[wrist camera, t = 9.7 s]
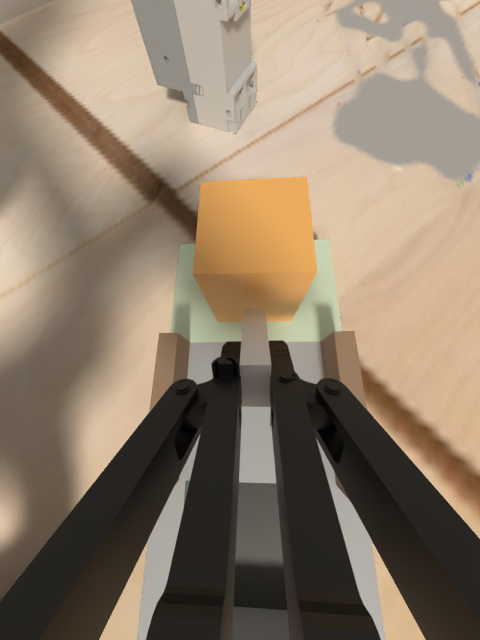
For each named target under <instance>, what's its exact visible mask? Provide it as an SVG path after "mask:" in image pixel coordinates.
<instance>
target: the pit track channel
mask: <svg viewBox="0 0 480 640" xmlns="http://www.w3.org/2000/svg"><path fill="white" fill-rule="evenodd" d="M314 245H315V254H316V263H317V273H316V275H315V277H314V279H313V281H312V283H311V285H310V287H309V289H308V291H307V293H306V295H305V296H304V298H303V300H302V302H301V304H300V306H299V308H298V310H297V312H296V314H295V316H294V318H293V319H292V321H266V325H267V333H268V341H270V340H283V341H284V342H285V343H286V344H287V345H288V348H289V352H290V356H291V359H292V363H293V367H294V371H295V372H296V373H297V374H298V376H299V378H301V379H302V380H304V381H307V382H310V383H314V384H317V383H318V382H319V380H321V379H324V378H332V379H336V380H338V381H340V382H342V383H343V384H344V385H345V386H346V387H347V388H348V389H349V390H350V391H351V392H352V393H353V395H354V396H355V397H356V398H357V399H358V400H359V401H360V403H361V404H362V405H363V406H364V407H365V408H366V402H365V395H364V389H363V383H362V376H361V370H360V364H359V358H358V351H357V345H356V339H355V332H354V331H342V328H341V321H340V314H339V307H338V300H337V293H336V286H335V278H334V271H333V264H332V257H331V250H330V243H329V239H318V240H314ZM194 256H195V244H180V248H179V257H178V267H177V276H176V285H175V294H174V303H173V313H172V322H171V331H170V333H159V339H158V347H157V356H156V364H155V372H154V380H153V388H152V396H151V404H150V411H151V410H152V408H153V407H154V406H155V405H156V403H157V402H158V401H159V400H160V398H161V397H162V396H163V395H164V393H165V392H166V391H167V389H168V388H169V387H170V386H171V385H172V384H173V383H174V382H176V381H178V380H181V379H191V380H194V381H195V382H196V384H200V383H204V382H207V381H209V380H211V379H212V378H213V374H212V366H211V364H212V362H213V361H214V360H215V359H216V358H218V357H221V351H222V346H223V345H224V344H225V343H226V342H227V341H241V339H242V326H243V322H217V320H216V318H215V316H214V314H213V312H212V310H211V308H210V306H209V304H208V302H207V301H206V299H205V297H204V295H203V293H202V291H201V289H200V287H199V285H198V283H197V281H196V279H195V278H194V276H193V267H194ZM241 409H242V423H241V446H240V468H239V491H238V513H237V536H236V558H235V581H234V603H233V640H289V624H288V612H287V601H286V589H285V578H284V566H283V555H282V543H281V532H280V520H279V508H278V497H277V485H276V474H275V462H274V451H273V439H272V428H271V426H270V414H271V406H270V407H242V408H241ZM366 409H367V408H366ZM199 438H200V435H199V437H198V439H197V441H196V443H195V445H194V447H193V449H192V451H191V454H190V456H189V458H188V460H187V462H186V464H185V466H184V468H183V470H182V472H181V474H180V476H179V478H178V480H177V482H176V484H175V486H174V488H173V490H172V492H171V494H170V496H169V498H168V500H167V502H166V504H165V506H164V508H163V510H162V512H161V514H160V516H159V518H158V521H157V523H156V525H155V527H154V529H153V531H152V533H151V535H150V537H149V539H148V543H147V552H146V561H145V571H144V580H143V589H142V598H141V607H140V617H139V626H138V635H137V640H146V637H147V633H148V629H149V626H150V622H151V618H152V615H153V612H154V610H155V607H156V604H157V602H158V601H159V599H160V597H161V596H162V594H163V592H164V590H165V587H166V583H167V580H168V576H169V571H170V567H171V562H172V558H173V553H174V549H175V544H176V540H177V536H178V531H179V527H180V522H181V518H182V513H183V509H184V504H185V500H186V495H187V491H188V487H189V482H190V478H191V473H192V469H193V464H194V460H195V455H196V451H197V446H198V442H199ZM316 439H317V438H316ZM317 443H318V447H319V450H320V454H321V457H322V461H323V465H324V468H325V472H326V475H327V479H328V483H329V486H330V490H331V493H332V497H333V501H334V504H335V508H336V512H337V515H338V519H339V522H340V526H341V530H342V533H343V537H344V540H345V544H346V548H347V551H348V555H349V559H350V562H351V566H352V569H353V573H354V577H355V580H356V584H357V587H358V591H359V594H360V597H361V599H362V602H363V604H364V606H365V607H366V609H367V610H368V612H369V613H370V615H371V616H372V618H373V621H374V623H375V625H376V628H377V630H378V633H379V636H380V639H381V640H385V633H384V626H383V619H382V612H381V605H380V598H379V591H378V584H377V576H376V569H375V562H374V555H373V548H372V541H371V538H370V536H369V534H368V532H367V530H366V529H365V527H364V525H363V523H362V521H361V519H360V518H359V516H358V514H357V512H356V510H355V508H354V507H353V505H352V503H351V501H350V499H349V497H348V496H347V494H346V492H345V490H344V488H343V486H342V484H341V483H340V481H339V479H338V477H337V475H336V473H335V472H334V470H333V468H332V466H331V464H330V462H329V461H328V459H327V457H326V455H325V453H324V451H323V450H322V448H321V446H320V444H319V442H318V440H317Z"/></svg>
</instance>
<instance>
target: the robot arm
mask: <svg viewBox="0 0 480 640" xmlns="http://www.w3.org/2000/svg"><path fill="white" fill-rule="evenodd" d="M211 366H212V374H213V378H212V379H211V380H209V381H207V382H204V383H200V384H196V382H195V381H194V380H191V379H181V380H178V381H176V382H174V383H173V384H172V385H171V386H170V387H169V388H168V389H167V391H166V392H165V393H164V395H163V396H162V397H161V398H160V400H159V401H158V402H157V403H156V405H155V406H154V407H153V408H152V410H151V411H150V412H149V414H148V415H147V416H146V417H145V419H144V420H143V421H142V422H141V424H140V425H139V426H138V428H137V429H136V430H135V431H134V433H133V434H132V435H131V436H130V438H129V439H128V440H127V441H126V443H125V444H124V445H123V447H122V448H121V449H120V450H119V452H118V453H117V454H116V455H115V457H114V458H113V459H112V460H111V462H110V463H109V464H108V466H107V467H106V468H105V469H104V471H103V472H102V473H101V474H100V476H99V477H98V478H97V480H96V481H95V482H94V483H93V485H92V486H91V487H90V488H89V490H88V491H87V492H86V493H85V495H84V496H83V497H82V499H81V500H80V501H79V502H78V504H77V505H76V506H75V507H74V509H73V510H72V511H71V512H70V514H69V515H68V516H67V518H66V519H65V520H64V521H63V523H62V524H61V525H60V526H59V528H58V529H57V530H56V532H55V533H54V534H53V535H52V537H51V538H50V539H49V540H48V542H47V543H46V544H45V545H44V547H43V548H42V549H41V551H40V552H39V553H38V554H37V556H36V557H35V558H34V559H33V561H32V562H31V563H30V564H29V566H28V567H27V568H26V570H25V571H24V572H23V573H22V575H21V576H20V577H19V578H18V580H17V581H16V582H15V584H14V585H13V586H12V587H11V589H10V590H9V591H8V592H7V594H6V595H5V596H4V597H3V599H2V600H1V601H0V640H99V638H100V636H101V634H102V632H103V630H104V628H105V626H106V624H107V622H108V620H109V618H110V616H111V614H112V612H113V610H114V608H115V606H116V604H117V602H118V600H119V598H120V596H121V594H122V592H123V590H124V588H125V585H126V583H127V581H128V579H129V577H130V575H131V573H132V571H133V569H134V567H135V565H136V563H137V561H138V559H139V557H140V555H141V553H142V551H143V549H144V547H145V545H146V543H147V541H148V539H149V537H150V535H151V533H152V531H153V529H154V527H155V525H156V523H157V521H158V518H159V516H160V514H161V512H162V510H163V508H164V506H165V504H166V502H167V500H168V498H169V496H170V494H171V492H172V490H173V488H174V486H175V484H176V482H177V480H178V478H179V476H180V474H181V472H182V470H183V468H184V466H185V464H186V462H187V460H188V458H189V456H190V454H191V451H192V449H193V447H194V445H195V443H196V441H197V439H198V437H199V435H200V438H199V442H198V446H197V451H196V455H195V460H194V464H193V469H192V473H191V478H190V482H189V487H188V491H187V495H186V500H185V504H184V509H183V513H182V518H181V522H180V527H179V531H178V536H177V540H176V544H175V549H174V553H173V558H172V562H171V567H170V571H169V576H168V580H167V583H166V587H165V590H164V592H163V594H162V596H161V597H160V599H159V601H158V602H157V604H156V607H155V610H154V612H153V615H152V618H151V622H150V626H149V629H148V633H147V637H146V640H233V603H234V581H235V558H236V536H237V513H238V491H239V468H240V446H241V423H242V409H241V408H242V407H270V406H271V414H270V426H271V428H272V439H273V451H274V462H275V474H276V485H277V497H278V508H279V520H280V532H281V543H282V555H283V566H284V578H285V589H286V601H287V612H288V624H289V640H381V639H380V636H379V633H378V630H377V628H376V625H375V623H374V621H373V618H372V616H371V615H370V613H369V612H368V610H367V609H366V607H365V606H364V604H363V602H362V599H361V597H360V594H359V591H358V587H357V584H356V580H355V577H354V573H353V569H352V566H351V562H350V559H349V555H348V551H347V548H346V544H345V540H344V537H343V533H342V530H341V526H340V522H339V519H338V515H337V512H336V508H335V504H334V501H333V497H332V493H331V490H330V486H329V483H328V479H327V475H326V472H325V468H324V465H323V461H322V457H321V454H320V450H319V447H318V443H317V440H318V442H319V444H320V446H321V448H322V450H323V451H324V453H325V455H326V457H327V459H328V461H329V462H330V464H331V466H332V468H333V470H334V472H335V473H336V475H337V477H338V479H339V481H340V483H341V484H342V486H343V488H344V490H345V492H346V494H347V496H348V497H349V499H350V501H351V503H352V505H353V507H354V508H355V510H356V512H357V514H358V516H359V518H360V519H361V521H362V523H363V525H364V527H365V529H366V530H367V532H368V534H369V536H370V538H371V540H372V542H373V543H374V545H375V547H376V549H377V551H378V553H379V554H380V556H381V558H382V560H383V562H384V564H385V565H386V567H387V569H388V571H389V573H390V575H391V576H392V578H393V580H394V582H395V584H396V586H397V588H398V589H399V591H400V593H401V595H402V597H403V599H404V600H405V602H406V604H407V606H408V608H409V610H410V611H411V613H412V615H413V617H414V619H415V621H416V622H417V624H418V626H419V628H420V630H421V632H422V633H423V635H424V637H425V639H426V640H480V539H479V538H478V536H477V535H476V534H475V533H474V532H473V531H472V530H471V528H470V527H469V526H468V525H467V524H466V523H465V522H464V520H463V519H462V518H461V517H460V516H459V515H458V514H457V512H456V511H455V510H454V509H453V508H452V507H451V506H450V504H449V503H448V502H447V501H446V500H445V499H444V498H443V496H442V495H441V494H440V493H439V492H438V491H437V489H436V488H435V487H434V486H433V485H432V484H431V483H430V481H429V480H428V479H427V478H426V477H425V476H424V475H423V473H422V472H421V471H420V470H419V469H418V468H417V467H416V465H415V464H414V463H413V462H412V461H411V460H410V459H409V457H408V456H407V455H406V454H405V453H404V452H403V451H402V449H401V448H400V447H399V446H398V445H397V444H396V443H395V441H394V440H393V439H392V438H391V437H390V436H389V435H388V433H387V432H386V431H385V430H384V429H383V428H382V427H381V425H380V424H379V423H378V422H377V421H376V420H375V419H374V417H373V416H372V415H371V414H370V413H369V412H368V411H367V409H366V408H365V407H364V406H363V405H362V404H361V403H360V401H359V400H358V399H357V398H356V397H355V396H354V395H353V393H352V392H351V391H350V390H349V389H348V388H347V387H346V386H345V385H344V384H343V383H342V382H340V381H338V380H336V379H332V378H324V379H321V380H319V382H318V383H317V384H314V383H310V382H307V381H304V380H302V379H301V378H299V376H298V374H297V373H296V372H295V371H294V367H293V363H292V359H291V356H290V352H289V348H288V345H287V344H286V343H285V342H284V341H283V340H270V341H268V333H267V325H266V318H265V310H264V308H250V309H244V314H243V326H242V339H241V341H227V342H226V343H225V344H224V345H223V346H222V351H221V357H218V358H216V359H215V360H214V361H213V362H212V364H211ZM316 438H317V439H316Z"/></svg>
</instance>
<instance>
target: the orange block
mask: <svg viewBox="0 0 480 640" xmlns="http://www.w3.org/2000/svg"><path fill="white" fill-rule="evenodd" d="M316 273H317V263H316V254H315V245H314V236H313V227H312V218H311V209H310V200H309V192H308V183H307V177H292V178H272V179H251V180H231V181H210V182H201V186H200V197H199V209H198V221H197V232H196V244H195V256H194V267H193V276H194V278H195V279H196V281H197V283H198V285H199V287H200V289H201V291H202V293H203V295H204V297H205V299H206V301H207V302H208V304H209V306H210V308H211V310H212V312H213V314H214V316H215V318H216V320H217V322H243V314H244V309H250V308H264V310H265V318H266V321H292V319H293V318H294V316H295V314H296V312H297V310H298V308H299V306H300V304H301V302H302V300H303V298H304V296H305V295H306V293H307V291H308V289H309V287H310V285H311V283H312V281H313V279H314V277H315V275H316Z"/></svg>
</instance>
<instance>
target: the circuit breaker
mask: <svg viewBox="0 0 480 640" xmlns="http://www.w3.org/2000/svg"><path fill="white" fill-rule="evenodd" d="M131 2H132V5H133V8H134V12H135V15H136V18H137V22H138V25H139V28H140V31H141V34H142V37H143V41H144V44H145V47H146V50H147V53H148V56H149V60H150V63H151V66H152V69H153V72H154V75H155V79H156V82H157V84H158V85H160V86H164V87H168V88H172V89H175V90H179V91H183V95H184V98H185V101H186V100H187V103H188V106H187V111H188V115H189V119H190V122H193V123H197V124H201V125H204V126H208V127H212V128H215V129H219V130H222V131H226V132H228V131H233V134H236V133H237V132H238V130H239V129H240V127H241V126H242V124H243V123H244V122H245V120H246V119H247V117H248V116H249V114H250V113H251V112H252V110H253V109H254V107H255V106H256V104H257V101H256V92H257V63H256V62H254V61H252V62H251V0H131ZM250 81H253V87H250V86H249V82H250Z"/></svg>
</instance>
